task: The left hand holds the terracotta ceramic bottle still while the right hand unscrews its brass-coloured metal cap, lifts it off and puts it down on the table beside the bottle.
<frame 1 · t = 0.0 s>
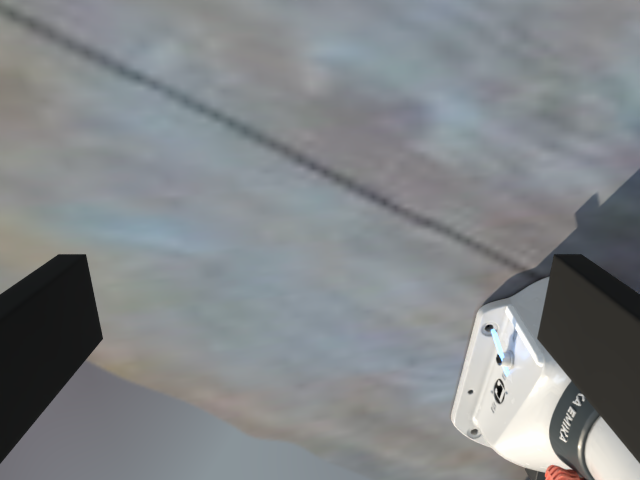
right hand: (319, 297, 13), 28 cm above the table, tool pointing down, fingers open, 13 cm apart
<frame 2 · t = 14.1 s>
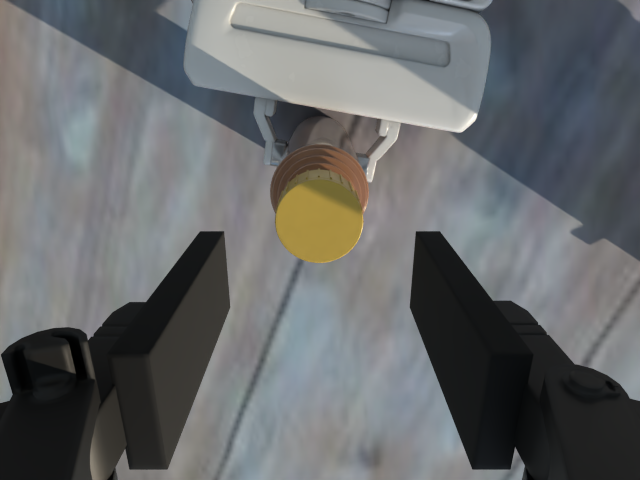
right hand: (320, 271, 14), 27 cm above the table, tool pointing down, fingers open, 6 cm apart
left hand: (318, 172, 33), fingers closed on bottle, 5 cm apart
bottle: (319, 146, 39), on the table, touching left hand
cap: (319, 220, 19), point 21 cm above the table, screwed on, not yet turned
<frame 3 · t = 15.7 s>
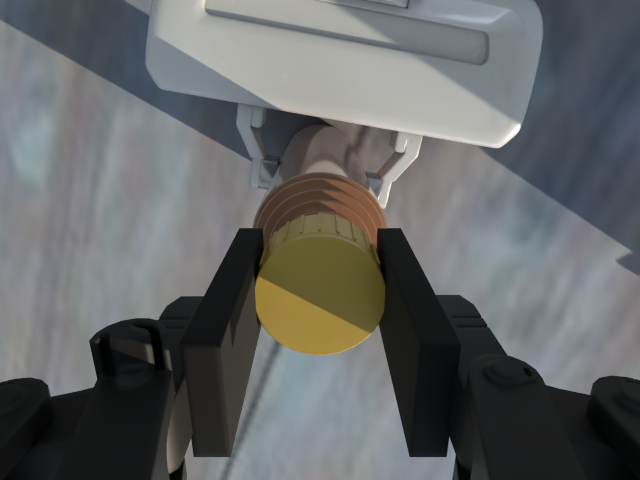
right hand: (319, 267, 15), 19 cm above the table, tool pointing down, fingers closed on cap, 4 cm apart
left hand: (318, 196, 27), fingers closed on bottle, 5 cm apart
bottle: (320, 160, 33), on the table, touching left hand
cap: (319, 294, 13), point 21 cm above the table, screwed on, not yet turned, touching right hand
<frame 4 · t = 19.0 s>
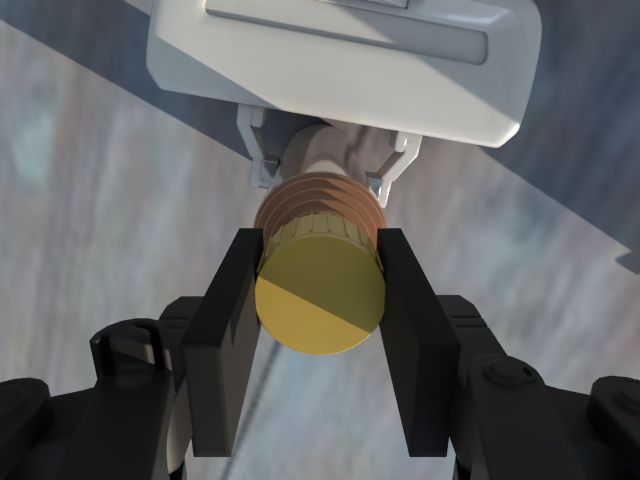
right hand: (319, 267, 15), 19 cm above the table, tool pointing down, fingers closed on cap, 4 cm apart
left hand: (318, 195, 27), fingers closed on bottle, 5 cm apart
bottle: (320, 160, 33), on the table, touching left hand
cap: (320, 294, 13), point 21 cm above the table, turned 101° so far, risen 0.1 cm, still on its thread, touching right hand
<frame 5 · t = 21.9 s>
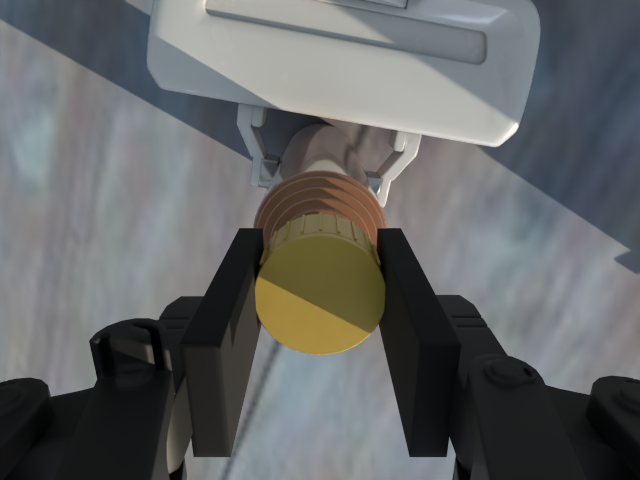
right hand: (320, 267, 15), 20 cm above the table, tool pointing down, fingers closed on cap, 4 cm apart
left hand: (318, 194, 27), fingers closed on bottle, 5 cm apart
bottle: (320, 159, 33), on the table, touching left hand
cap: (320, 294, 13), point 21 cm above the table, turned 203° so far, risen 0.2 cm, still on its thread, touching right hand
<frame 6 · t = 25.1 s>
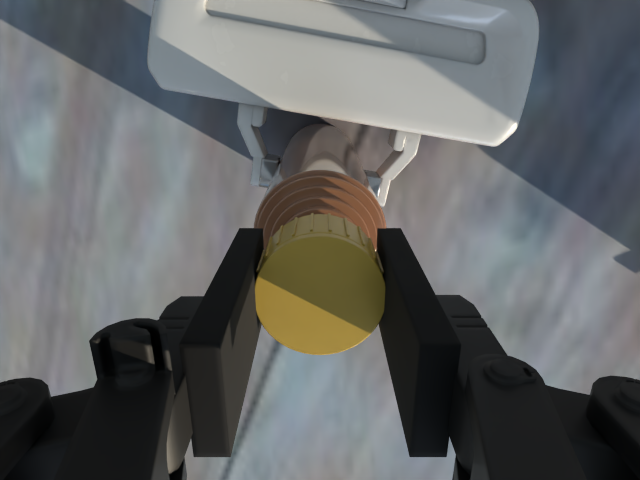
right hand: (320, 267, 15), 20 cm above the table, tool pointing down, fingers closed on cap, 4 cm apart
left hand: (318, 194, 27), fingers closed on bottle, 5 cm apart
bottle: (320, 159, 33), on the table, touching left hand
cap: (319, 294, 13), point 22 cm above the table, turned 304° so far, risen 0.4 cm, still on its thread, touching right hand
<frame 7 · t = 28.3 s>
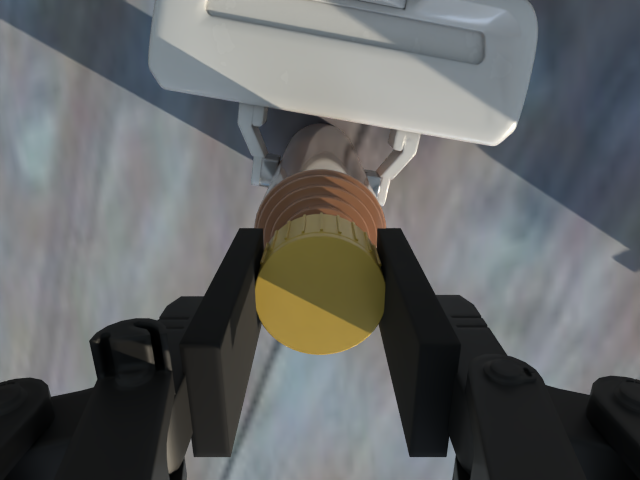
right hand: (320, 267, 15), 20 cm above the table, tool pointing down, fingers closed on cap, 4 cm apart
left hand: (318, 193, 27), fingers closed on bottle, 5 cm apart
bottle: (320, 159, 33), on the table, touching left hand
cap: (320, 294, 13), point 22 cm above the table, turned 406° so far, risen 0.5 cm, still on its thread, touching right hand
when the right hand's fingers open (1 cm above the table, at t = 35.8 s): cap drops 1 cm, point 2 cm above the table.
when the left hand's fingers open (7 cm above the table, at t = 37.2 s): bottle stays where it is, on the table.
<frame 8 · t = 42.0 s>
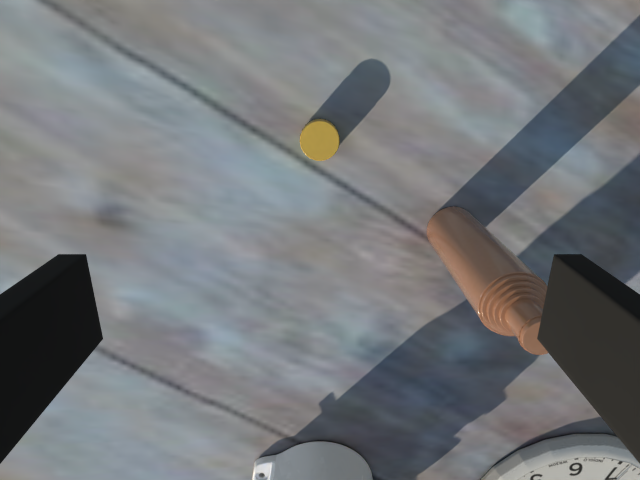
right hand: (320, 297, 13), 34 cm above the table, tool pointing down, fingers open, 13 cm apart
bottle: (450, 229, 48), on the table
cap: (319, 140, 43), point 2 cm above the table, off its thread
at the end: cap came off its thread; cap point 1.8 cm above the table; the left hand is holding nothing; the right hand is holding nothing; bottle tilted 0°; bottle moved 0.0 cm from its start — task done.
